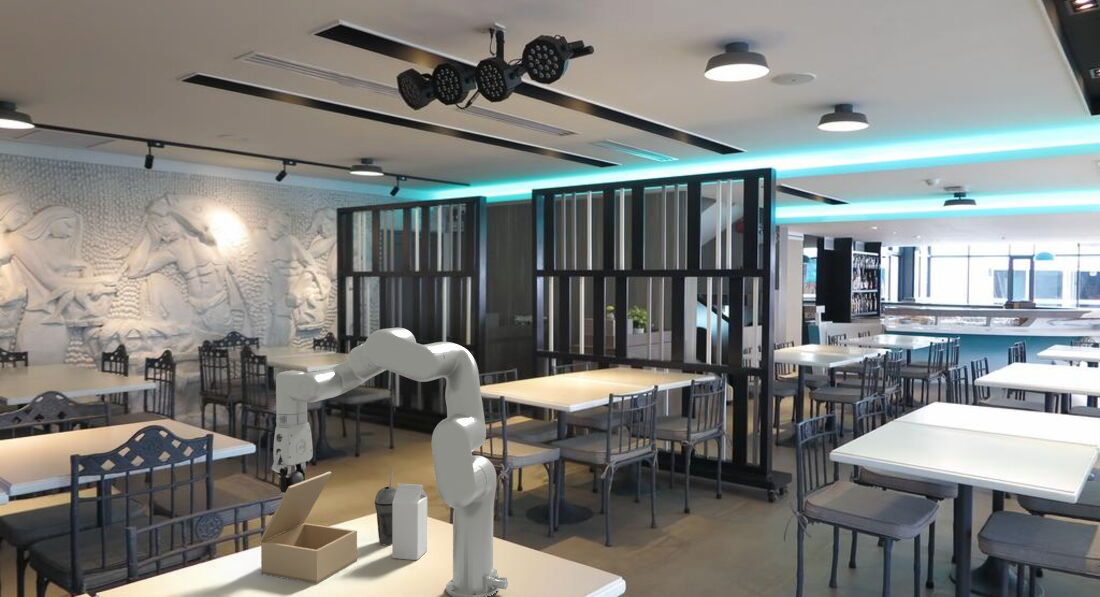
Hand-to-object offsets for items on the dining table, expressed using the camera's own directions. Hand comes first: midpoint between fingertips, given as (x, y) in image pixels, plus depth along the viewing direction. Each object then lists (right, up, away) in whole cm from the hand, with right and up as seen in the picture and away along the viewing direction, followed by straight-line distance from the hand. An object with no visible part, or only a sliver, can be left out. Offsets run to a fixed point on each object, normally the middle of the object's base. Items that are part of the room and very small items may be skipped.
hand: (292, 489), depth 189 cm
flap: (+1, -4, 0) cm, 4 cm away
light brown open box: (+5, -20, -2) cm, 20 cm away
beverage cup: (+21, -20, +17) cm, 33 cm away
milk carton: (+29, -20, +7) cm, 36 cm away
